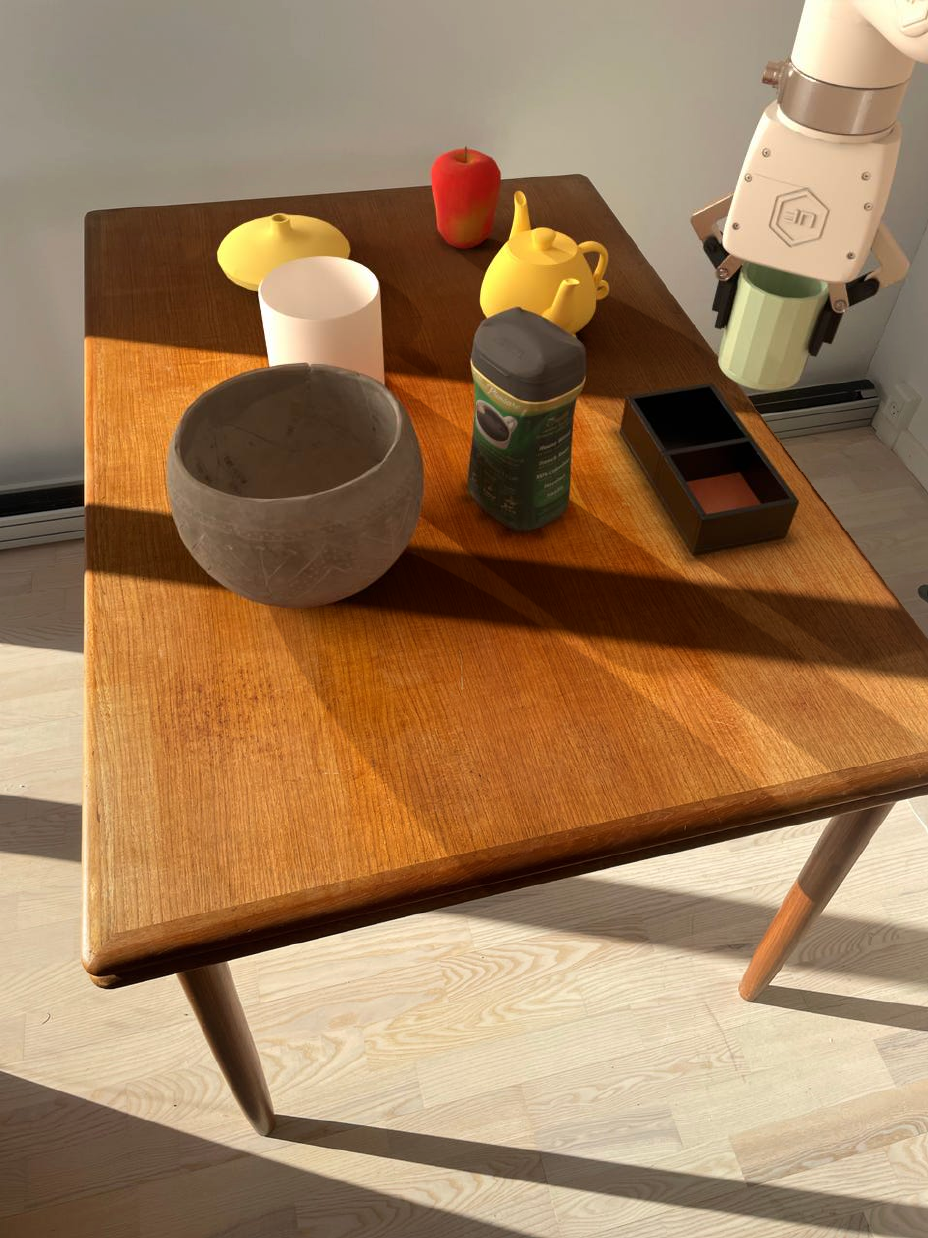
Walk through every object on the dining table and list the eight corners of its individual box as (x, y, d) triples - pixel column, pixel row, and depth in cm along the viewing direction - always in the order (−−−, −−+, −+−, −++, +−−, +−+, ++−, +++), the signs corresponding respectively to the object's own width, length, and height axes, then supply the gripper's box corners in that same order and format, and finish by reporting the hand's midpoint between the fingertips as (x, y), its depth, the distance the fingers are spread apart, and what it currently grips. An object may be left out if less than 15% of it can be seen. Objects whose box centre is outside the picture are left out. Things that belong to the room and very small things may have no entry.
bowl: (182, 500, 91) (146, 366, 80) (397, 466, 95) (392, 333, 84) (203, 671, 78) (163, 540, 67) (451, 623, 82) (454, 491, 71)
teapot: (635, 367, 107) (652, 271, 98) (506, 386, 104) (512, 289, 95) (575, 273, 119) (586, 180, 110) (459, 287, 116) (460, 194, 108)
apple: (511, 242, 124) (516, 148, 115) (461, 263, 120) (462, 168, 111) (467, 216, 128) (469, 123, 119) (417, 235, 124) (416, 141, 115)
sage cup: (811, 355, 80) (842, 266, 74) (789, 400, 76) (820, 309, 70) (732, 332, 82) (755, 244, 76) (707, 375, 78) (729, 285, 72)
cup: (299, 348, 108) (286, 247, 98) (399, 367, 106) (395, 266, 97) (256, 411, 100) (238, 308, 91) (362, 433, 98) (354, 329, 89)
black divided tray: (785, 538, 90) (799, 501, 86) (692, 556, 88) (703, 519, 84) (703, 418, 101) (712, 381, 97) (619, 432, 99) (625, 395, 96)
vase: (351, 308, 113) (347, 251, 108) (215, 310, 112) (203, 254, 107) (352, 239, 123) (348, 184, 118) (227, 241, 122) (217, 186, 117)
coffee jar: (582, 509, 92) (608, 339, 77) (519, 546, 88) (534, 375, 74) (515, 456, 96) (528, 287, 82) (453, 489, 93) (455, 319, 79)
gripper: (695, 88, 63) (649, 326, 77) (969, 148, 59) (869, 391, 72) (729, 50, 68) (681, 282, 81) (987, 103, 63) (889, 340, 77)
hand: (769, 331), depth 77 cm, fingers closed on sage cup, 6 cm apart
